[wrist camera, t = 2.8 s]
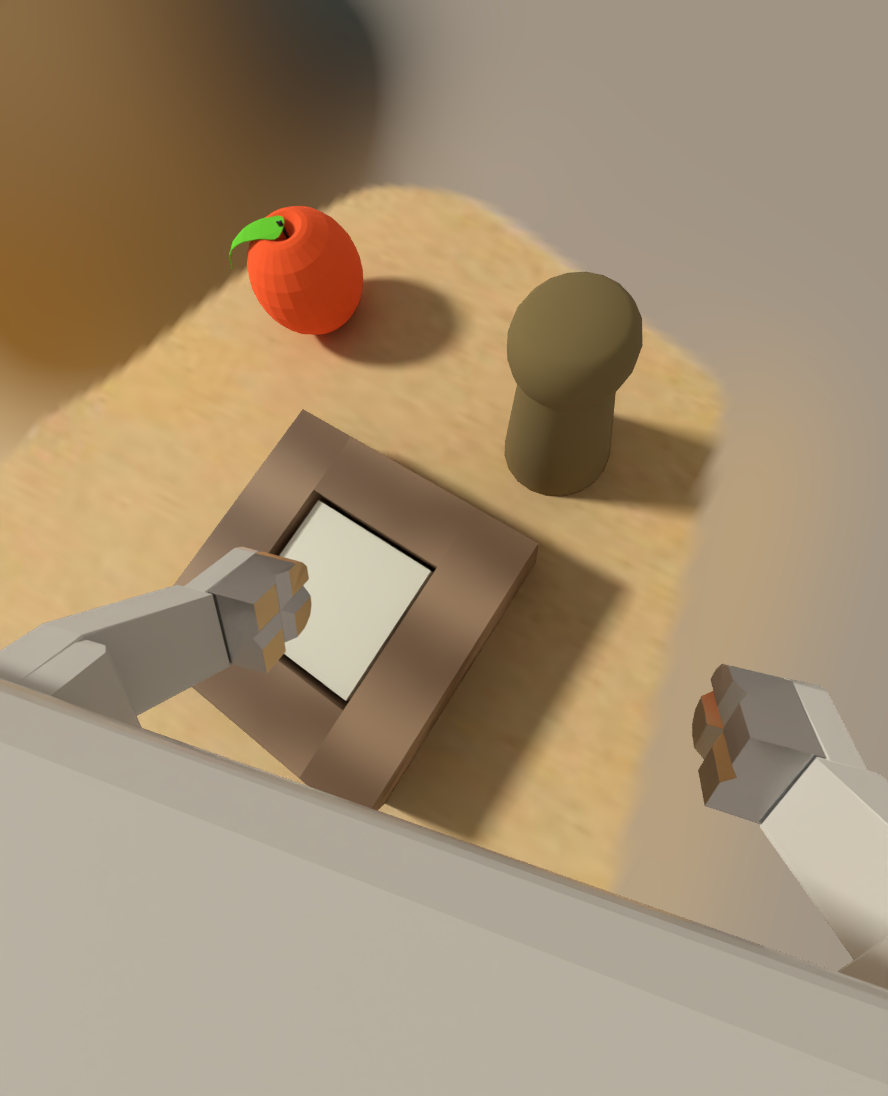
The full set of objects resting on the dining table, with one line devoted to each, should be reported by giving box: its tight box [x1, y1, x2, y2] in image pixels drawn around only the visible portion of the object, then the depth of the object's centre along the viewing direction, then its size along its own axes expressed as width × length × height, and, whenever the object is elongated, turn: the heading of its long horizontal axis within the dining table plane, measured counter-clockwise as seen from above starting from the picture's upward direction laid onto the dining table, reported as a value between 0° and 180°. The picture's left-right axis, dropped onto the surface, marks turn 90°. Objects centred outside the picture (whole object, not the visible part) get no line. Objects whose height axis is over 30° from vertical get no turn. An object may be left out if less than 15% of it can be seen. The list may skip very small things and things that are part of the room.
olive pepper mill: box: [505, 272, 642, 496], centre depth 22 cm, size 6×6×11 cm
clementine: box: [229, 206, 363, 335], centre depth 29 cm, size 8×7×7 cm
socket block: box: [173, 410, 538, 811], centre depth 25 cm, size 15×15×4 cm
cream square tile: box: [279, 500, 433, 701], centre depth 24 cm, size 7×7×1 cm
